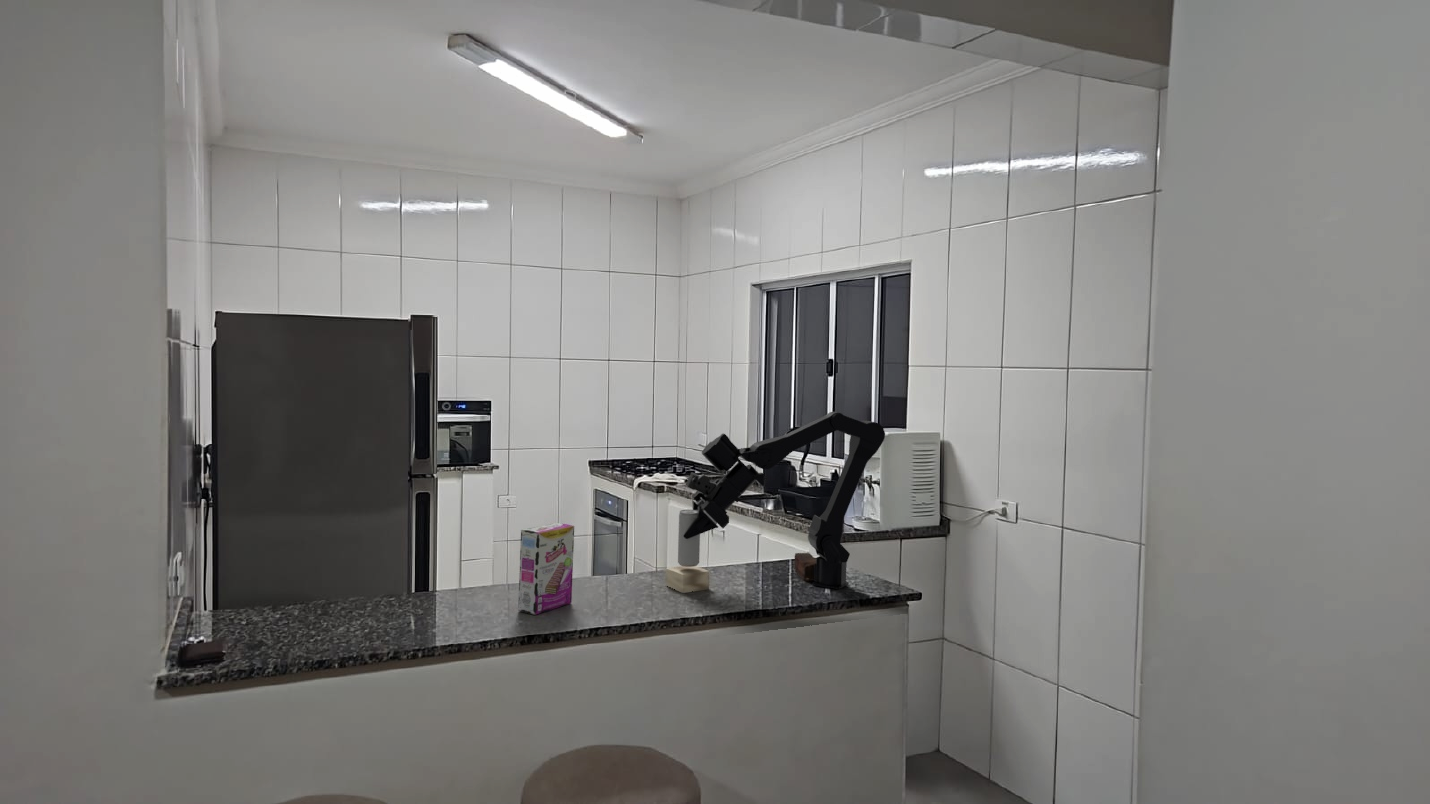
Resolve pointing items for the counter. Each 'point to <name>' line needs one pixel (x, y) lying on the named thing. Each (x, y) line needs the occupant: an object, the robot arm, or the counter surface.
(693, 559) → the beverage can
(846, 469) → the robot arm
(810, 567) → the brick
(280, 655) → the counter surface
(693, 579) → the maple block
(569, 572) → the candy bar box
